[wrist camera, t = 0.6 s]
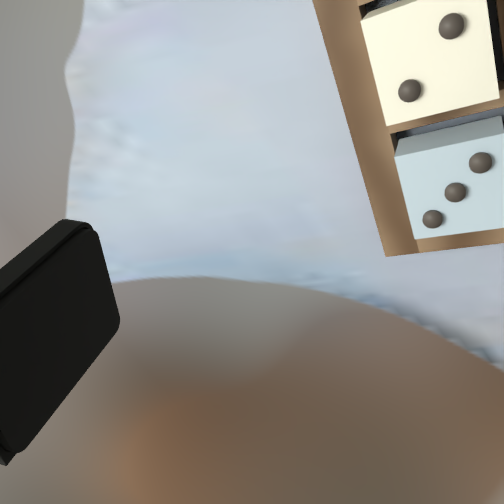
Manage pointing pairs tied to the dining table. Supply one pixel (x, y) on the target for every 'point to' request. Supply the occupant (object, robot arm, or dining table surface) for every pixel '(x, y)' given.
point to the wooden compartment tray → (386, 129)
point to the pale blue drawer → (454, 178)
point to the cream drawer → (430, 56)
